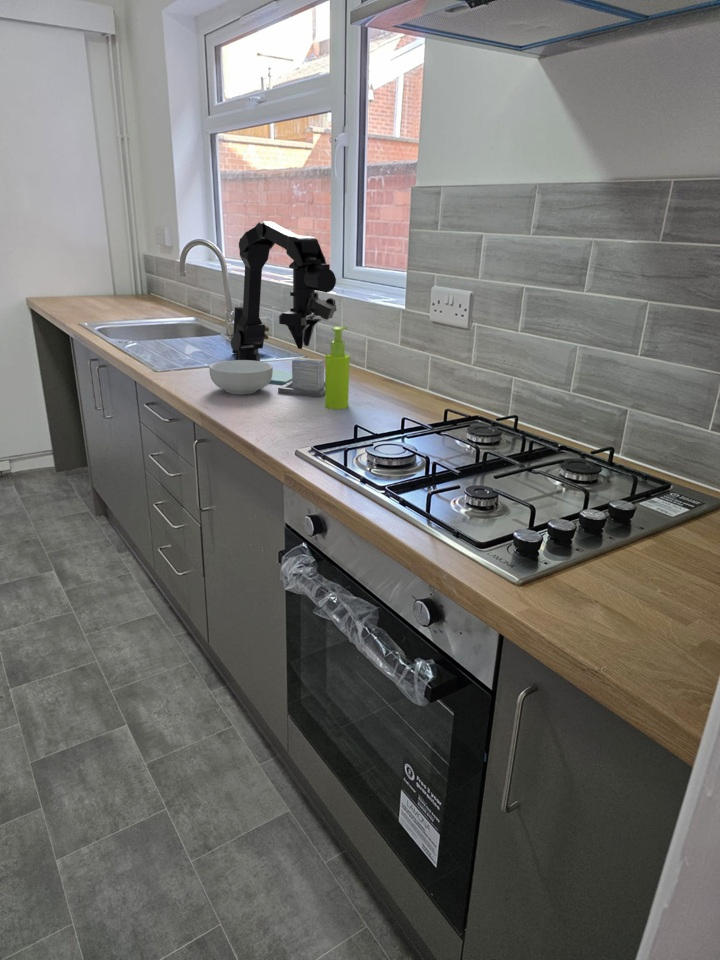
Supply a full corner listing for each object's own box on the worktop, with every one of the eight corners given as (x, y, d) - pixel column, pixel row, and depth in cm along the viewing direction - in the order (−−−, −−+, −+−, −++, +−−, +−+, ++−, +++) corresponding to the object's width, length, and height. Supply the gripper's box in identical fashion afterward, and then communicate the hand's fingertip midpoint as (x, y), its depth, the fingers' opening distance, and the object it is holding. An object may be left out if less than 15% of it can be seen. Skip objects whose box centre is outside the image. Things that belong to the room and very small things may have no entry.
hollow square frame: (278, 393, 176) (278, 387, 175) (296, 383, 186) (296, 378, 186) (320, 398, 172) (320, 392, 172) (336, 388, 183) (336, 382, 182)
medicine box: (324, 390, 180) (324, 359, 177) (318, 394, 176) (318, 362, 173) (298, 387, 182) (298, 356, 179) (291, 391, 179) (291, 359, 175)
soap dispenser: (352, 404, 168) (355, 326, 160) (343, 411, 162) (345, 330, 154) (331, 402, 169) (332, 324, 162) (321, 408, 163) (322, 328, 156)
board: (248, 380, 188) (247, 377, 187) (266, 372, 198) (266, 368, 198) (285, 385, 184) (285, 381, 184) (302, 376, 195) (302, 373, 194)
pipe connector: (263, 352, 228) (266, 309, 223) (267, 355, 224) (270, 311, 219) (230, 351, 224) (233, 306, 218) (234, 354, 219) (236, 308, 214)
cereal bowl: (285, 392, 177) (285, 366, 175) (236, 402, 166) (235, 375, 163) (247, 380, 188) (246, 356, 185) (198, 390, 176) (196, 364, 174)
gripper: (319, 294, 160) (317, 357, 166) (344, 286, 176) (343, 344, 182) (277, 290, 163) (278, 352, 169) (307, 283, 180) (306, 340, 186)
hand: (303, 347), depth 177 cm, fingers open, 4 cm apart
